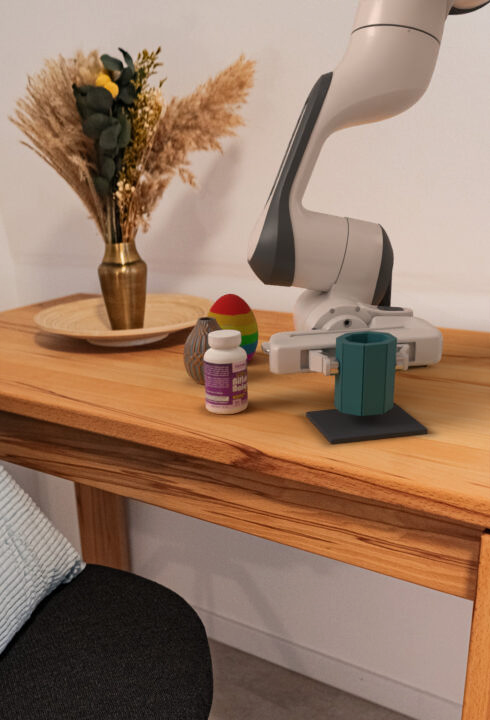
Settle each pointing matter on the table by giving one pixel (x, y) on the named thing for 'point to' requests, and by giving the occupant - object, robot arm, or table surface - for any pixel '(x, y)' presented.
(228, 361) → the pill bottle
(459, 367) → the table surface
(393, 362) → the teal octagonal cup
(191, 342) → the vase
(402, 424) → the felt pad
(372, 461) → the table surface
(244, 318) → the decorative egg
